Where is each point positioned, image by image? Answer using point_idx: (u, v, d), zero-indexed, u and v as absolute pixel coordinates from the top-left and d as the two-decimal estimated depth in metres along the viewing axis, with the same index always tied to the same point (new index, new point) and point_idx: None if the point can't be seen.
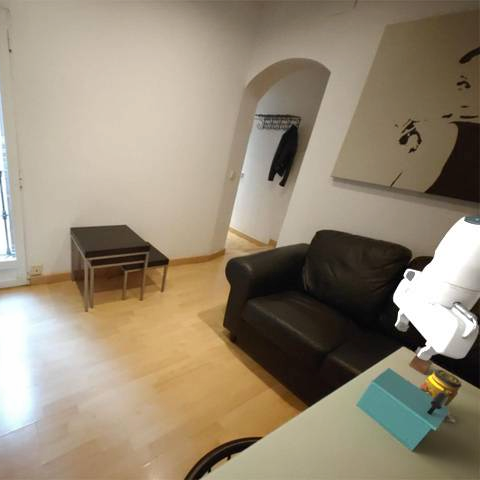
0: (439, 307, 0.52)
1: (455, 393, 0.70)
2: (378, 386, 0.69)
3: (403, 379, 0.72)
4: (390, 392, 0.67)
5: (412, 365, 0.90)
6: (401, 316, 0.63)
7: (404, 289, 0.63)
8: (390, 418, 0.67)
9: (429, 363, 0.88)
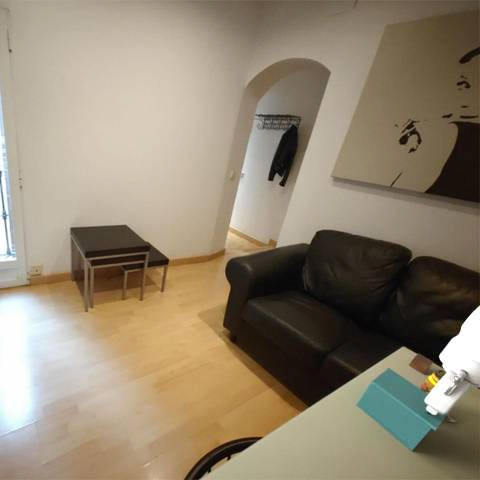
0: (448, 371, 0.58)
1: None
2: (378, 386, 0.69)
3: (403, 379, 0.72)
4: (390, 392, 0.67)
5: (412, 365, 0.90)
6: None
7: None
8: (390, 418, 0.67)
9: (429, 363, 0.88)
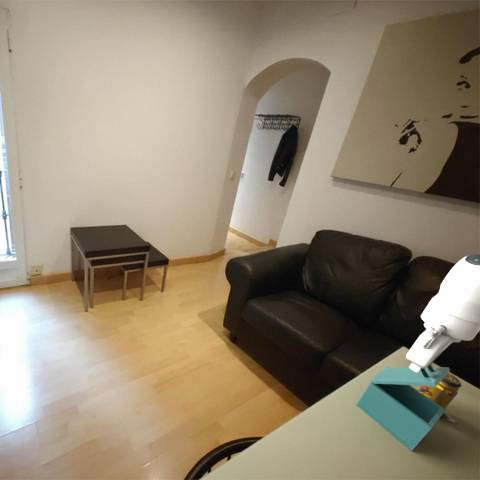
0: (428, 327, 0.60)
1: (455, 393, 0.70)
2: (378, 381, 0.69)
3: (401, 368, 0.72)
4: (388, 379, 0.67)
5: None
6: None
7: None
8: (390, 418, 0.67)
9: None
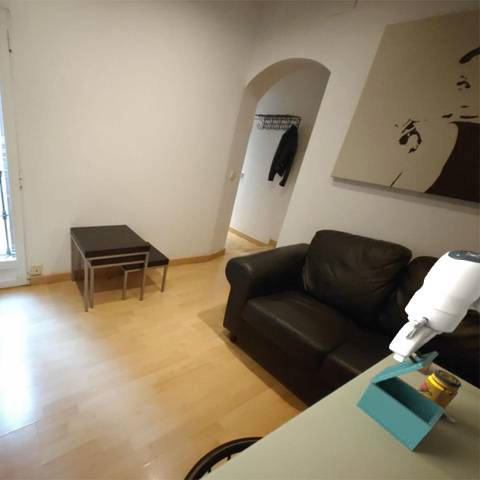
0: (411, 320, 0.63)
1: (455, 393, 0.70)
2: (376, 379, 0.69)
3: (398, 363, 0.72)
4: (385, 375, 0.68)
5: None
6: None
7: None
8: (390, 418, 0.67)
9: (429, 363, 0.88)
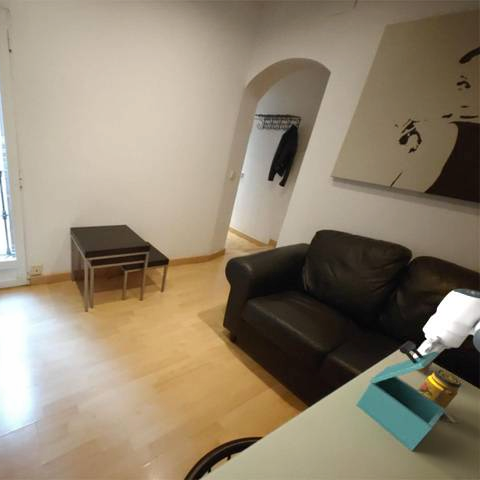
0: (428, 338, 0.85)
1: (455, 393, 0.70)
2: (376, 379, 0.69)
3: (398, 363, 0.72)
4: (385, 375, 0.68)
5: None
6: None
7: None
8: (390, 418, 0.67)
9: (429, 363, 0.88)
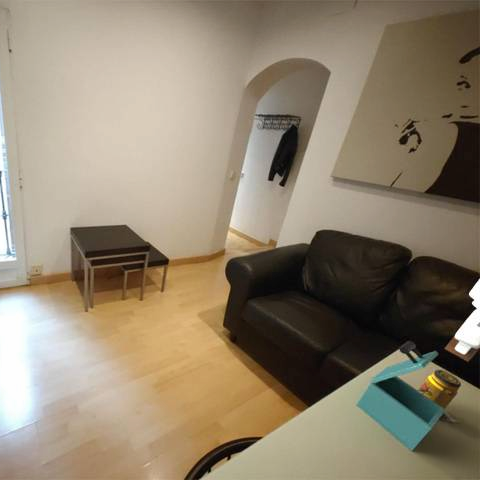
0: None
1: (455, 393, 0.70)
2: (376, 379, 0.69)
3: (398, 363, 0.72)
4: (385, 375, 0.68)
5: (450, 349, 0.61)
6: None
7: None
8: (390, 418, 0.67)
9: None
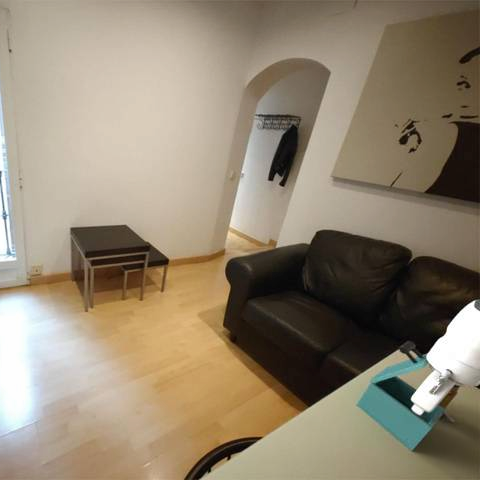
0: (434, 370, 0.60)
1: (455, 393, 0.70)
2: (376, 379, 0.69)
3: (398, 363, 0.72)
4: (385, 375, 0.68)
5: None
6: None
7: None
8: (390, 418, 0.67)
9: None
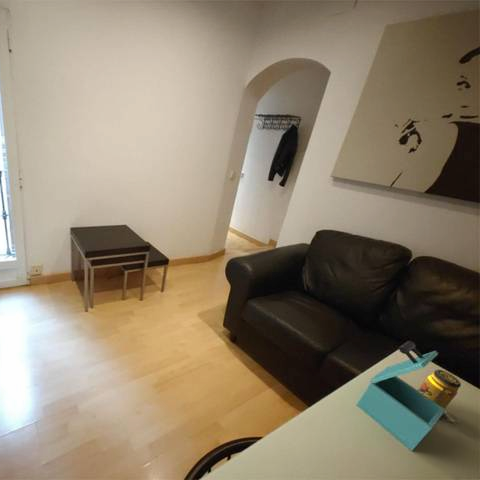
0: None
1: (455, 393, 0.70)
2: (376, 379, 0.69)
3: (398, 363, 0.72)
4: (385, 375, 0.68)
5: None
6: None
7: None
8: (390, 418, 0.67)
9: None
